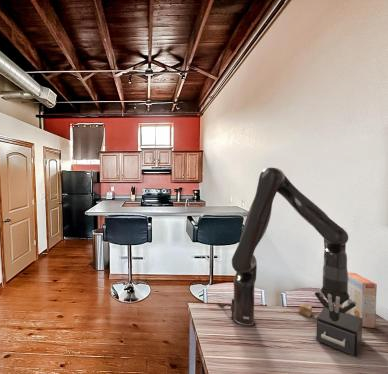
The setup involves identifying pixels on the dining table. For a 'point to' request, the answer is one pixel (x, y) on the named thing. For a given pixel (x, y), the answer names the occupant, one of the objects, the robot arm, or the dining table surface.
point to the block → (306, 310)
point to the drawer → (336, 337)
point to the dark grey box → (345, 325)
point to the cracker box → (362, 299)
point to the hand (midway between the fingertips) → (334, 320)
